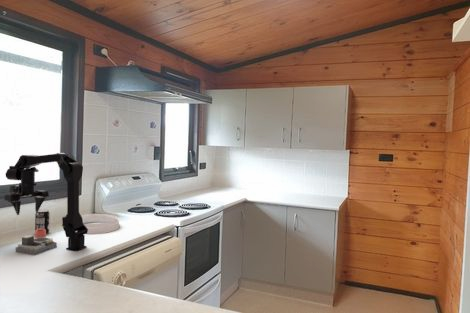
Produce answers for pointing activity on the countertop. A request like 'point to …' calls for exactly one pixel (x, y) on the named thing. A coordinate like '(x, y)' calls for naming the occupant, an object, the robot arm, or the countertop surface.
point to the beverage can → (42, 220)
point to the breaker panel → (37, 246)
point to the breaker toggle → (28, 240)
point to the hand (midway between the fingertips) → (27, 213)
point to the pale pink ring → (101, 227)
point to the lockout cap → (40, 233)
